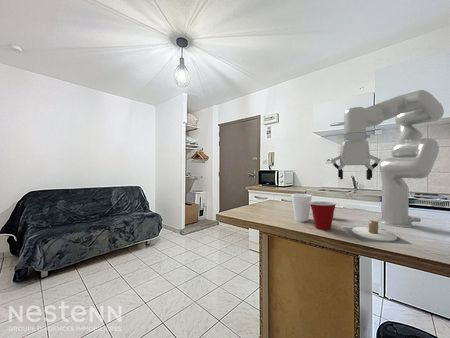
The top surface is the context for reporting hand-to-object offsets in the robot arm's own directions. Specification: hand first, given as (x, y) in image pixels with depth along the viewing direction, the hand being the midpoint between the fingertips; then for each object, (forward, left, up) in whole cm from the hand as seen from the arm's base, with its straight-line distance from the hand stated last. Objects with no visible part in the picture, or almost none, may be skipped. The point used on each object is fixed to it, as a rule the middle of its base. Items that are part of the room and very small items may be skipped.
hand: (354, 179), depth 81 cm
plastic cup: (+12, -2, -22) cm, 25 cm away
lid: (-5, +4, -22) cm, 22 cm away
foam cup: (+18, -15, -22) cm, 32 cm away
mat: (-5, +4, -22) cm, 23 cm away
